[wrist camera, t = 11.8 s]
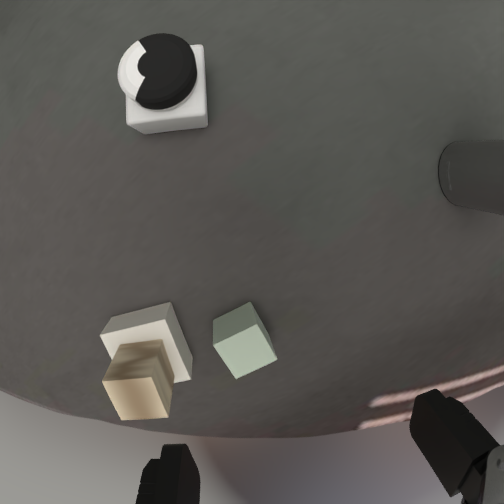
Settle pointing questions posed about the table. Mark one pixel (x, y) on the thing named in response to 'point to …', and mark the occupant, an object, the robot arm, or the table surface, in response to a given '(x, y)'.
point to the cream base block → (151, 335)
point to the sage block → (242, 340)
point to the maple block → (140, 380)
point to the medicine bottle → (164, 84)
